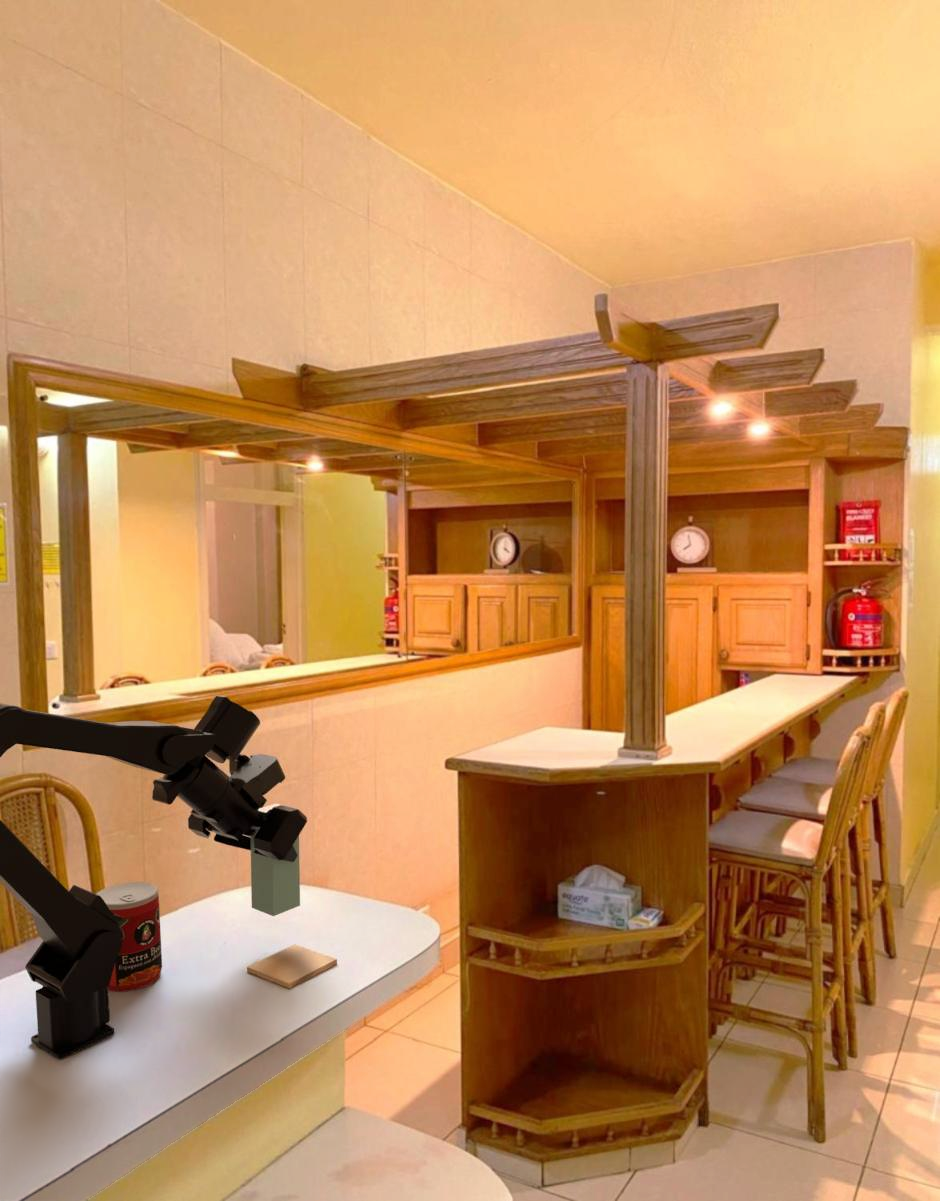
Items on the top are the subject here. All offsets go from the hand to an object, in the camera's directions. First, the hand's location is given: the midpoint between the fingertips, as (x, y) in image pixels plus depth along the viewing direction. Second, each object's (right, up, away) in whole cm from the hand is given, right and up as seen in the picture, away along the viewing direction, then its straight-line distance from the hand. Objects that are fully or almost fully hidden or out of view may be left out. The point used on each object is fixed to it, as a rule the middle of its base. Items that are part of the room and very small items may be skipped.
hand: (283, 855), depth 123 cm
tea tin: (-1, -7, -1) cm, 7 cm away
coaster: (+2, -13, -6) cm, 14 cm away
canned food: (-18, -14, -8) cm, 24 cm away
